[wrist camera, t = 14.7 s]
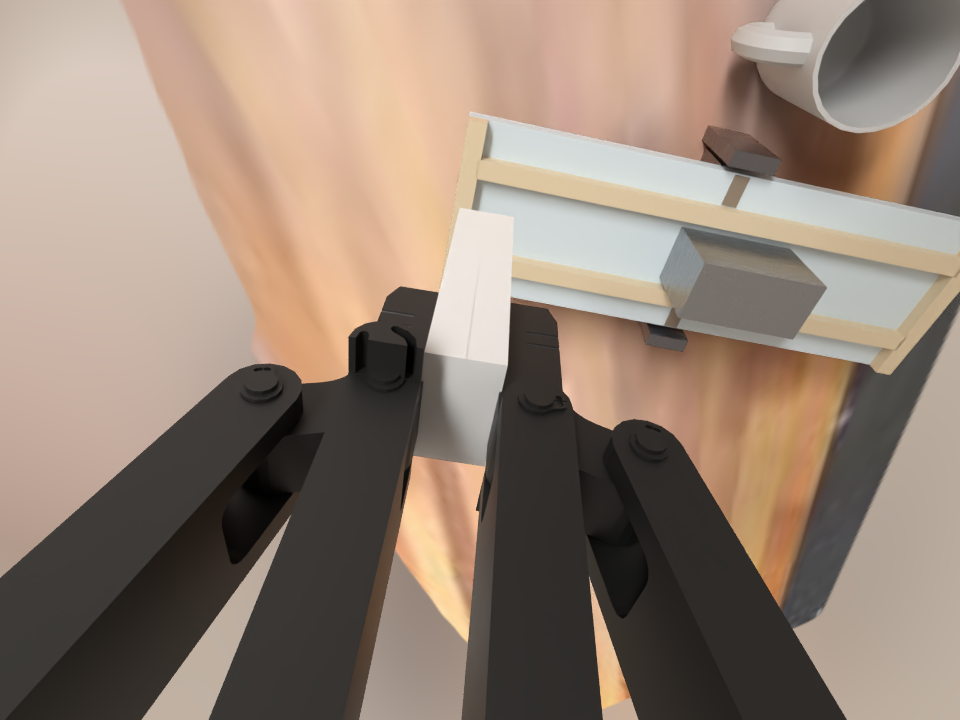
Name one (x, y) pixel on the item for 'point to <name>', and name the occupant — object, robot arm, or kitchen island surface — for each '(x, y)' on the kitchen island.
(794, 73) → the cup
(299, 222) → the kitchen island surface
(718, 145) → the fulcrum
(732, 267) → the block
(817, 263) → the beam
